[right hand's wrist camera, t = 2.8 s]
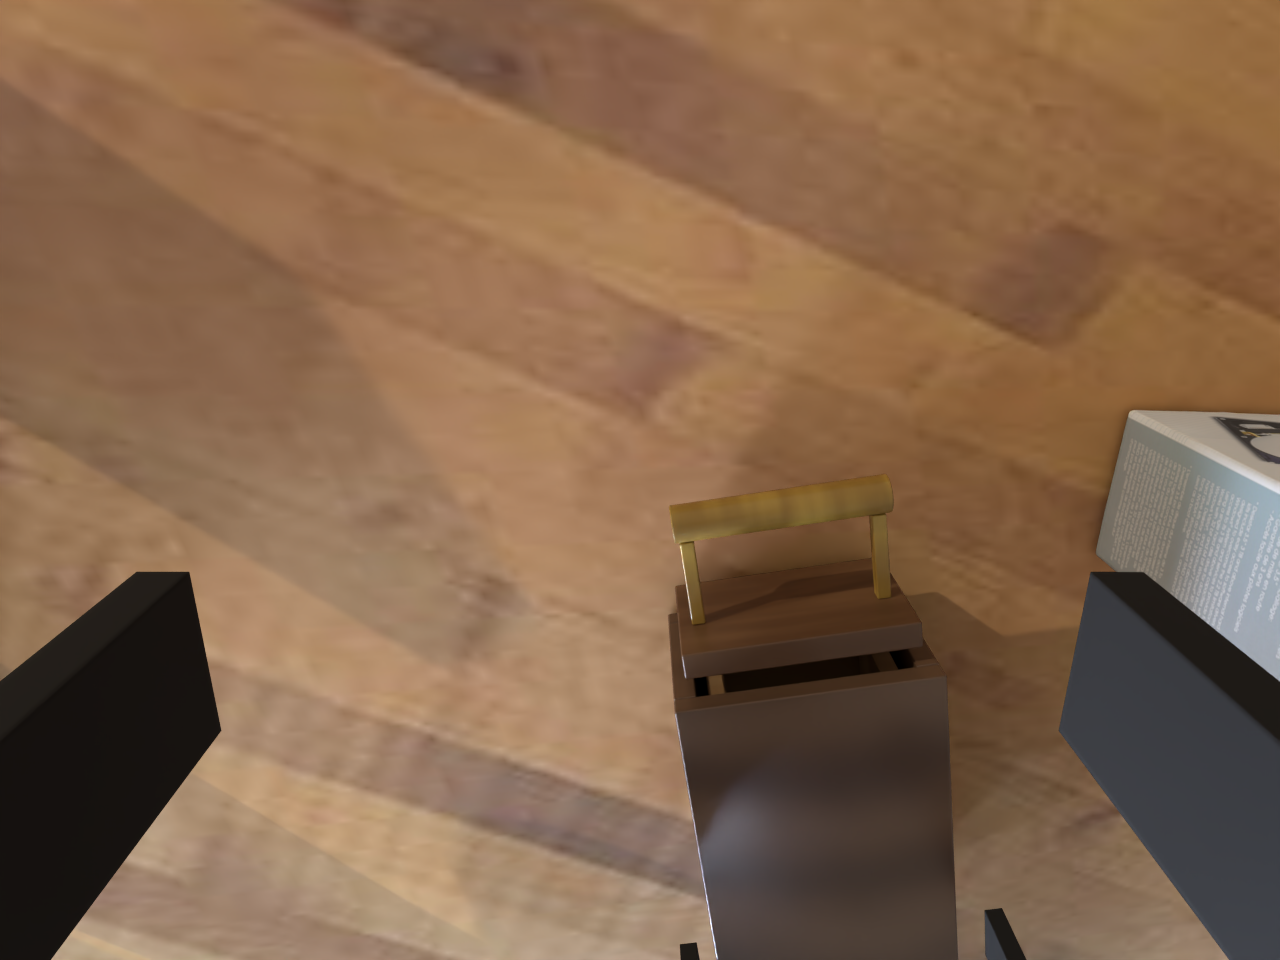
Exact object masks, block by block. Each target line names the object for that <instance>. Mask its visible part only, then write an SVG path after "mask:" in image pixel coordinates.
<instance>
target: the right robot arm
mask: <svg viewBox="0 0 1280 960" xmlns="http://www.w3.org/2000/svg"><path fill="white" fill-rule="evenodd" d="M220 732H221V727H220V722H219V717H218V712H217V707H216V702H215V697H214V692H213V687H212V682H211V677H210V672H209V667H208V662H207V657H206V652H205V648H204V643H203V638H202V633H201V628H200V623H199V618H198V613H197V608H196V603H195V598H194V593H193V588H192V583H191V578H190V573H189V572H136V573H135V574H133V575H132V576H131V577H130V578H128V579H127V580H126V581H125V582H123V583H122V584H121V585H120V586H118V587H117V588H116V589H115V590H113V591H112V592H111V593H110V594H109V595H107V596H106V597H105V598H104V599H102V600H101V601H100V602H99V603H97V604H96V605H95V606H94V607H92V608H91V609H90V610H89V611H87V612H86V613H85V614H84V615H82V616H81V617H80V618H79V619H77V620H76V621H75V622H74V623H72V624H71V625H70V626H69V627H67V628H66V629H65V630H64V631H62V632H61V633H60V634H59V635H57V636H56V637H55V638H54V639H52V640H51V641H50V642H49V643H47V644H46V645H45V646H44V647H42V648H41V649H40V650H39V651H38V652H36V653H35V654H34V655H33V656H31V657H30V658H29V659H28V660H26V661H25V662H24V663H23V664H21V665H20V666H19V667H18V668H16V669H15V670H14V671H13V672H11V673H10V674H9V675H8V676H6V677H5V678H4V679H3V680H1V681H0V960H51V959H52V957H53V956H54V955H55V953H56V952H57V951H58V949H59V948H60V947H61V945H62V944H63V943H64V941H65V940H66V939H67V937H68V936H69V935H70V933H71V932H72V930H73V929H74V928H75V926H76V925H77V924H78V922H79V921H80V920H81V918H82V917H83V916H84V914H85V913H86V912H87V910H88V909H89V908H90V906H91V905H92V904H93V902H94V901H95V900H96V898H97V897H98V896H99V894H100V893H101V892H102V890H103V889H104V887H105V886H106V885H107V883H108V882H109V881H110V879H111V878H112V877H113V875H114V874H115V873H116V871H117V870H118V869H119V867H120V866H121V865H122V863H123V862H124V861H125V859H126V858H127V857H128V855H129V854H130V853H131V851H132V850H133V849H134V847H135V846H136V844H137V843H138V842H139V840H140V839H141V838H142V836H143V835H144V834H145V832H146V831H147V830H148V828H149V827H150V826H151V824H152V823H153V822H154V820H155V819H156V818H157V816H158V815H159V814H160V812H161V811H162V810H163V808H164V807H165V806H166V804H167V803H168V801H169V800H170V799H171V797H172V796H173V795H174V793H175V792H176V791H177V789H178V788H179V787H180V785H181V784H182V783H183V781H184V780H185V779H186V777H187V776H188V775H189V773H190V772H191V771H192V769H193V768H194V767H195V765H196V764H197V762H198V761H199V760H200V758H201V757H202V756H203V754H204V753H205V752H206V750H207V749H208V748H209V746H210V745H211V744H212V742H213V741H214V740H215V738H216V737H217V736H218V734H219V733H220ZM1059 732H1060V733H1061V734H1062V736H1063V737H1064V738H1065V740H1066V741H1067V742H1068V744H1069V745H1070V746H1071V748H1072V749H1073V750H1074V752H1075V753H1076V754H1077V756H1078V757H1079V758H1080V760H1081V761H1082V762H1083V764H1084V765H1085V767H1086V768H1087V769H1088V771H1089V772H1090V773H1091V775H1092V776H1093V777H1094V779H1095V780H1096V781H1097V783H1098V784H1099V785H1100V787H1101V788H1102V789H1103V791H1104V792H1105V793H1106V795H1107V796H1108V797H1109V799H1110V800H1111V801H1112V803H1113V804H1114V806H1115V807H1116V808H1117V810H1118V811H1119V812H1120V814H1121V815H1122V816H1123V818H1124V819H1125V820H1126V822H1127V823H1128V824H1129V826H1130V827H1131V828H1132V830H1133V831H1134V832H1135V834H1136V835H1137V836H1138V838H1139V839H1140V840H1141V842H1142V843H1143V844H1144V846H1145V847H1146V849H1147V850H1148V851H1149V853H1150V854H1151V855H1152V857H1153V858H1154V859H1155V861H1156V862H1157V863H1158V865H1159V866H1160V867H1161V869H1162V870H1163V871H1164V873H1165V874H1166V875H1167V877H1168V878H1169V879H1170V881H1171V882H1172V883H1173V885H1174V886H1175V887H1176V889H1177V890H1178V892H1179V893H1180V894H1181V896H1182V897H1183V898H1184V900H1185V901H1186V902H1187V904H1188V905H1189V906H1190V908H1191V909H1192V910H1193V912H1194V913H1195V914H1196V916H1197V917H1198V918H1199V920H1200V921H1201V922H1202V924H1203V925H1204V926H1205V928H1206V929H1207V930H1208V932H1209V933H1210V935H1211V936H1212V937H1213V939H1214V940H1215V941H1216V943H1217V944H1218V945H1219V947H1220V948H1221V949H1222V951H1223V952H1224V953H1225V955H1226V956H1227V957H1228V959H1229V960H1280V681H1279V680H1277V679H1276V678H1275V677H1274V676H1272V675H1271V674H1270V673H1269V672H1267V671H1266V670H1265V669H1264V668H1262V667H1261V666H1260V665H1259V664H1257V663H1256V662H1255V661H1254V660H1252V659H1251V658H1250V657H1249V656H1247V655H1246V654H1245V653H1244V652H1242V651H1241V650H1240V649H1239V648H1238V647H1236V646H1235V645H1234V644H1233V643H1231V642H1230V641H1229V640H1228V639H1226V638H1225V637H1224V636H1223V635H1221V634H1220V633H1219V632H1218V631H1216V630H1215V629H1214V628H1213V627H1211V626H1210V625H1209V624H1208V623H1206V622H1205V621H1204V620H1203V619H1201V618H1200V617H1199V616H1198V615H1196V614H1195V613H1194V612H1193V611H1191V610H1190V609H1189V608H1188V607H1186V606H1185V605H1184V604H1183V603H1181V602H1180V601H1179V600H1178V599H1176V598H1175V597H1174V596H1173V595H1171V594H1170V593H1169V592H1168V591H1167V590H1165V589H1164V588H1163V587H1162V586H1160V585H1159V584H1158V583H1157V582H1155V581H1154V580H1153V579H1152V578H1150V577H1149V576H1148V575H1147V574H1145V573H1144V572H1091V573H1090V578H1089V583H1088V588H1087V593H1086V598H1085V603H1084V608H1083V613H1082V618H1081V623H1080V628H1079V633H1078V638H1077V643H1076V648H1075V652H1074V657H1073V662H1072V667H1071V672H1070V677H1069V682H1068V687H1067V692H1066V697H1065V702H1064V707H1063V712H1062V717H1061V722H1060V727H1059Z"/></svg>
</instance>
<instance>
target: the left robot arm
mask: <svg viewBox="0 0 1280 960" xmlns="http://www.w3.org/2000/svg"><path fill="white" fill-rule="evenodd" d="M985 954H986V957H987V959H988V960H1026V958H1025V956H1024V954H1023V952H1022V950H1021V947H1020V945H1019V943H1018V941H1017V939H1016V937H1015V935H1014V933H1013V931H1012V929H1011V926H1010V924H1009V922H1008V920H1007V918H1006V916H1005V914H1004V912H1003V910H1002V908H999V909H991V910H985ZM680 955H681V960H700V959H699V954H698V948H697V943H688V944H680Z"/></svg>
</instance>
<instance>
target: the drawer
mask: <svg viewBox="0 0 1280 960" xmlns="http://www.w3.org/2000/svg"><path fill="white" fill-rule="evenodd" d="M893 506H894V499H893V491H892V486H891V483H890V480H889V478H888V476H887V475H886V474H881V475H874V476H867V477H860V478H854V479H847V480H840V481H833V482H826V483H820V484H813V485H806V486H799V487H792V488H786V489H779V490H772V491H765V492H759V493H752V494H745V495H738V496H731V497H725V498H718V499H711V500H704V501H697V502H691V503H684V504H677V505H670V506H669V510H670V518H671V525H672V532H673V538H674V543H680V550H681V556H682V563H683V569H684V576H685V582H686V585H679V586H676V587H675V590H676V601H677V612H678V623H679V635H680V646H681V656H682V663H683V669H684V675H685V678H686V679H693V678H701V677H706V681H707V688H708V695H715V694H722V693H730V692H737V691H744V690H752V689H759V688H767V687H774V686H781V685H789V684H796V683H803V682H811V681H818V680H825V679H833V678H840V677H848V676H855V675H862V674H870V673H877V672H884V671H892V670H898V668H897V666H896V664H895V662H894V660H893V658H892V657H891V655H890V653H889V652H891V651H898V650H905V649H913V648H920V647H922V646H923V637H922V623H921V621H920V619H919V618H918V616H917V614H916V613H915V611H914V610H913V608H912V607H911V605H910V603H909V602H908V600H907V599H906V597H905V595H904V594H903V592H902V591H901V589H900V587H899V586H898V584H897V583H896V581H895V579H894V578H893V576H892V575H891V573H890V565H889V549H888V533H887V518H886V514H885V513H890V512H892V511H893ZM862 516H869V522H870V536H871V550H872V558H869V559H862V560H855V561H848V562H841V563H834V564H827V565H820V566H813V567H806V568H799V569H791V570H784V571H777V572H770V573H763V574H756V575H749V576H742V577H735V578H728V579H721V580H714V581H707V582H700V580H699V573H698V566H697V560H696V553H695V546H694V541H697V540H704V539H711V538H718V537H725V536H731V535H738V534H745V533H752V532H759V531H766V530H773V529H780V528H787V527H794V526H800V525H807V524H814V523H821V522H828V521H835V520H842V519H849V518H856V517H862Z"/></svg>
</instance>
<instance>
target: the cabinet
mask: <svg viewBox="0 0 1280 960" xmlns="http://www.w3.org/2000/svg"><path fill="white" fill-rule="evenodd" d="M668 621H669V636H670V651H671V665H672V680H673V694H674V708H675V717H676V723H677V729H678V735H679V741H680V747H681V752H682V758H683V764H684V770H685V776H686V782H687V788H688V794H689V800H690V805H691V811H692V817H693V823H694V829H695V835H696V841H697V847H698V852H699V858H700V864H701V870H702V876H703V882H704V888H705V894H706V900H707V905H708V911H709V917H710V923H711V929H712V935H713V941H714V947H715V952H716V958H717V960H958V946H957V921H956V896H955V871H954V846H953V821H952V796H951V771H950V746H949V721H948V696H947V676H946V675H945V673H944V671H943V670H942V668H941V666H940V665H939V663H938V662H937V660H936V658H935V657H934V655H933V653H932V652H931V650H930V648H929V647H928V645H927V644H926V642H925V640H924V639H923V646H922V647H920V648H913V649H905V650H898V651H891V652H889V653H890V655H891V657H892V658H893V660H894V662H895V664H896V666H897V668H898V670H892V671H884V672H877V673H870V674H862V675H855V676H848V677H840V678H833V679H825V680H818V681H811V682H803V683H796V684H789V685H781V686H774V687H767V688H759V689H752V690H744V691H737V692H730V693H722V694H715V695H708V688H707V681H706V677H701V678H693V679H686V678H685V675H684V669H683V663H682V656H681V646H680V635H679V623H678V613H676V614H670V615H668Z"/></svg>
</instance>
